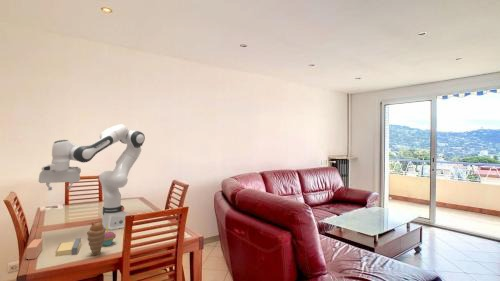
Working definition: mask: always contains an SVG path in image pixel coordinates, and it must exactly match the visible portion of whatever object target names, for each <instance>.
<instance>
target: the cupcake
mask: <svg viewBox="0 0 500 281" xmlns="http://www.w3.org/2000/svg"><path fill="white" fill-rule="evenodd" d="M116 236H117V235H116V233H114V232H113V231H109V230H108V224H107V229H106V231H105V240H104V243H103V246H104V247H107V246H111V245H112V244H113V241H114V239H116Z"/></svg>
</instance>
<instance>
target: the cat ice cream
mask: <svg viewBox="0 0 500 281" xmlns="http://www.w3.org/2000/svg"><path fill="white" fill-rule="evenodd" d="M102 222H103V220H102V219H101V220H100V221H98V222H95V221H93V222H91V227H90V228H89V230H88V231H87V233H86V235H87V236H88V237H87V241H88V246H89V248H90V251H91V252H90V253H91V255H95V256H96V255H98V254H100V253H101V251H102V248H103V246H104V245H103V243H104V240H105V232H106V229H105V228H104V227H103V224H102Z"/></svg>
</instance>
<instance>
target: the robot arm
mask: <svg viewBox="0 0 500 281" xmlns="http://www.w3.org/2000/svg"><path fill="white" fill-rule="evenodd" d="M145 140H146V137H145V134H144V133H143V132H141V131H140V130H134V129H128V127H127V126H126V125H125V124H122V123H120V124H116V125H113V126H110V127H108V128H106V129H104V130H103V131H102V132H100V134H99V140H97V141H95V142H94V143H92V144H90V145H78V144H74V143H73V142H71V141H70V140H69V139H61V140H56V141H54V142H53V144H52V149H51V157H52V159H51V164H47V165H43V166H42V167H41V171H40V172H39V175H38V182H39V183H40V184H45V185H46V187H47V191H52V190H53V187H52V186H51V185H50V184H53V183H69V184H70V185H68V186H67V190H72V189H71V188H72V186H73V184H74V183H78V182H79V181H81V172H82V170H81V167H79V166H70V161H74V162H75V161H76V162H79V163H82V164H83V163H84V164H85V163H88V162H90V161H92V159H93V158H94V157H96V155H97V154H99V153H100V152H102V151H103V150H105V149H106V148H108V147H110V146H112V145H114V144H115V143H118V142H120V143H121V144H125V145H126V148H125V149H124V150H123V151H122V153H121V154H120V156H119V157H118V158H117V160H116V161H115V167H114V169H113V170H105V171H102V172H101V173H100V174H99V176H98V181H99V183H100V184H101V189H102V193H103V206H102V210H101V212H102V213H101V214H102V218H101V221H102V220H103V222H102V224H103V227H104V228H105V230H107V224H108V231H111V230H117V229H118V230H119V228H120V229H125V228H124V221H125V216H126V215H131V214H130V213H128V212H127V211H126V210H125V206H124V205H122V194H121V192H120V190H119V189H121V188H124V187H125V186H126V185H127V183H128V179H129V178H128V175H129V173H130V170H131V168H132V167H133V165H134V164H135V163H136V162H137V160H138V158H139V157H140V154H141V152H142V148H141V147H143V144H144V142H145Z"/></svg>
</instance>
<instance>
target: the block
mask: <svg viewBox="0 0 500 281" xmlns="http://www.w3.org/2000/svg"><path fill="white" fill-rule="evenodd" d="M43 240H44V238H36V239H33V240H32V241H31V242H30V243H29V245H28V246H27V247H26V253H25V254H26V257H25V259H28V260H33V259H34V260H35V259H37V258H38V257H39V255H40V254H41V252H42V251H43V245H44V244H43Z"/></svg>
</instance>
